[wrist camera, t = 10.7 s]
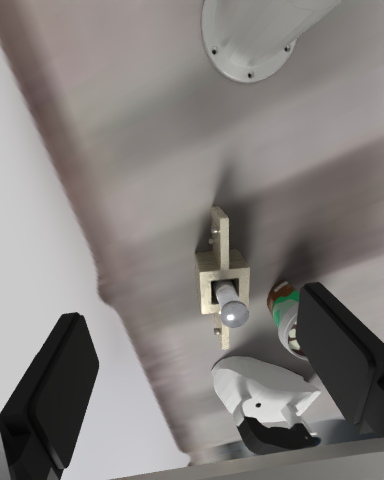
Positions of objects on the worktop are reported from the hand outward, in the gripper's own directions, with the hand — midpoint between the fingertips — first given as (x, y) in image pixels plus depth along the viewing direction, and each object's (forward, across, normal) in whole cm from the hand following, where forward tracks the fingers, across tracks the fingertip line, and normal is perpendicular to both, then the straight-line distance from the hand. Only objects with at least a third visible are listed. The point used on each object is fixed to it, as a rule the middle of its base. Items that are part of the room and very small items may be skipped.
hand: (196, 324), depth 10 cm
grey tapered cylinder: (+29, -6, +15) cm, 33 cm away
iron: (+29, -14, +45) cm, 56 cm away
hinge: (+29, -6, +15) cm, 33 cm away
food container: (+30, -17, +24) cm, 42 cm away
